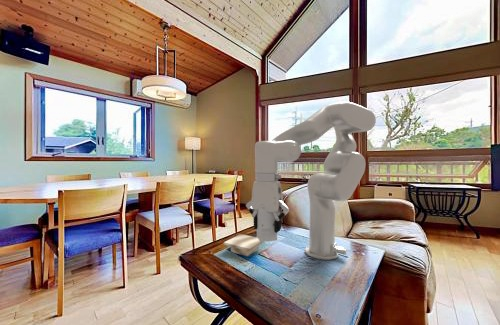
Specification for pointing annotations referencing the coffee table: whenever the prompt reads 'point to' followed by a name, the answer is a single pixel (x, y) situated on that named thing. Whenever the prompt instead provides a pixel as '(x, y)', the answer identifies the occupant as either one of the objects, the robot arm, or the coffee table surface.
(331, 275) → the coffee table surface
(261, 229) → the skincare box
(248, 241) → the cream square tile
